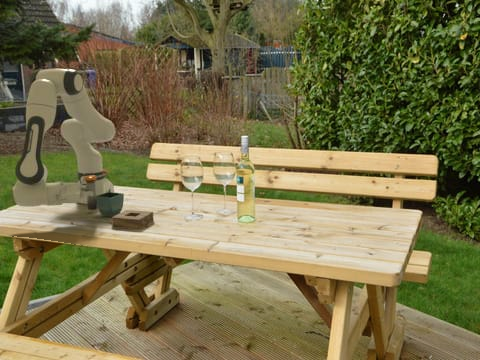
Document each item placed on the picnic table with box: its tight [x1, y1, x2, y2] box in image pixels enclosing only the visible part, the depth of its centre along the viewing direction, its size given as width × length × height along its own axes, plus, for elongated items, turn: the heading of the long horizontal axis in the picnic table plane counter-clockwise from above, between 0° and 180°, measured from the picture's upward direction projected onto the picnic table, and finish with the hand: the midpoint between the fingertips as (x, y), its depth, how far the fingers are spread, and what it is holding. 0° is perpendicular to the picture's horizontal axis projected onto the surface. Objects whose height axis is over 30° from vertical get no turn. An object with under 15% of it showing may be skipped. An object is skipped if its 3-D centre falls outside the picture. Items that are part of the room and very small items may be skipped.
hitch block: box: [111, 209, 154, 231], centre depth 215 cm, size 12×12×4 cm
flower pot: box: [96, 192, 125, 218], centre depth 228 cm, size 9×9×9 cm
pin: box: [84, 175, 98, 211], centre depth 214 cm, size 5×5×13 cm
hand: (93, 191), depth 214 cm, fingers closed on pin, 4 cm apart
